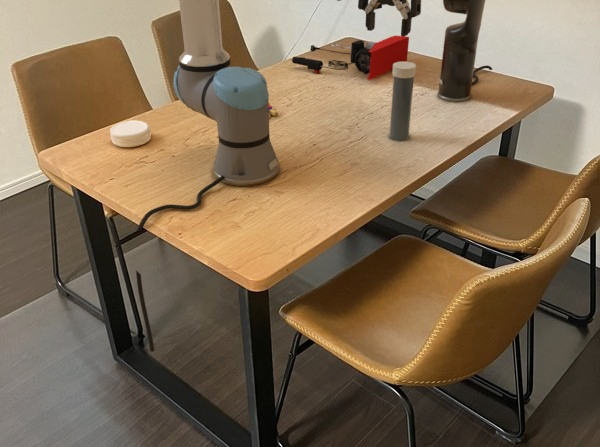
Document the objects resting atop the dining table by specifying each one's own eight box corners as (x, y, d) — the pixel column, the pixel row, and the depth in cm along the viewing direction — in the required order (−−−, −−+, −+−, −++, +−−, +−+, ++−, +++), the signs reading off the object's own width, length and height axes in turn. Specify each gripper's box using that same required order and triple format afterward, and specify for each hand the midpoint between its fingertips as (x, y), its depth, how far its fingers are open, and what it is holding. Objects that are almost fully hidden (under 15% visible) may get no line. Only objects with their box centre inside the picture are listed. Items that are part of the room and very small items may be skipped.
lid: (400, 79, 149) (400, 70, 148) (388, 72, 153) (388, 63, 152) (419, 76, 151) (420, 66, 150) (407, 69, 155) (408, 60, 154)
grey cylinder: (395, 142, 158) (401, 71, 148) (385, 134, 162) (390, 65, 152) (412, 138, 160) (418, 68, 150) (401, 131, 164) (407, 62, 154)
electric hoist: (290, 37, 203) (370, 51, 188) (334, 23, 222) (410, 35, 207) (290, 67, 208) (368, 84, 193) (333, 51, 227) (407, 65, 212)
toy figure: (281, 107, 173) (253, 94, 180) (262, 114, 169) (235, 100, 176) (281, 115, 175) (253, 102, 182) (262, 122, 171) (235, 108, 178)
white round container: (123, 151, 155) (121, 138, 153) (105, 139, 162) (102, 126, 160) (158, 140, 161) (156, 127, 159) (139, 128, 167) (137, 116, 165)
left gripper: (410, -82, 149) (403, 9, 160) (338, -89, 165) (337, -6, 176) (388, -79, 145) (383, 15, 156) (317, -87, 161) (317, -2, 172)
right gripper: (431, -46, 128) (423, 33, 137) (371, -51, 136) (368, 24, 144) (414, -40, 123) (408, 42, 132) (353, -46, 130) (351, 31, 139)
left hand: (358, 4), depth 166 cm, fingers open, 13 cm apart
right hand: (387, 32), depth 138 cm, fingers open, 8 cm apart
